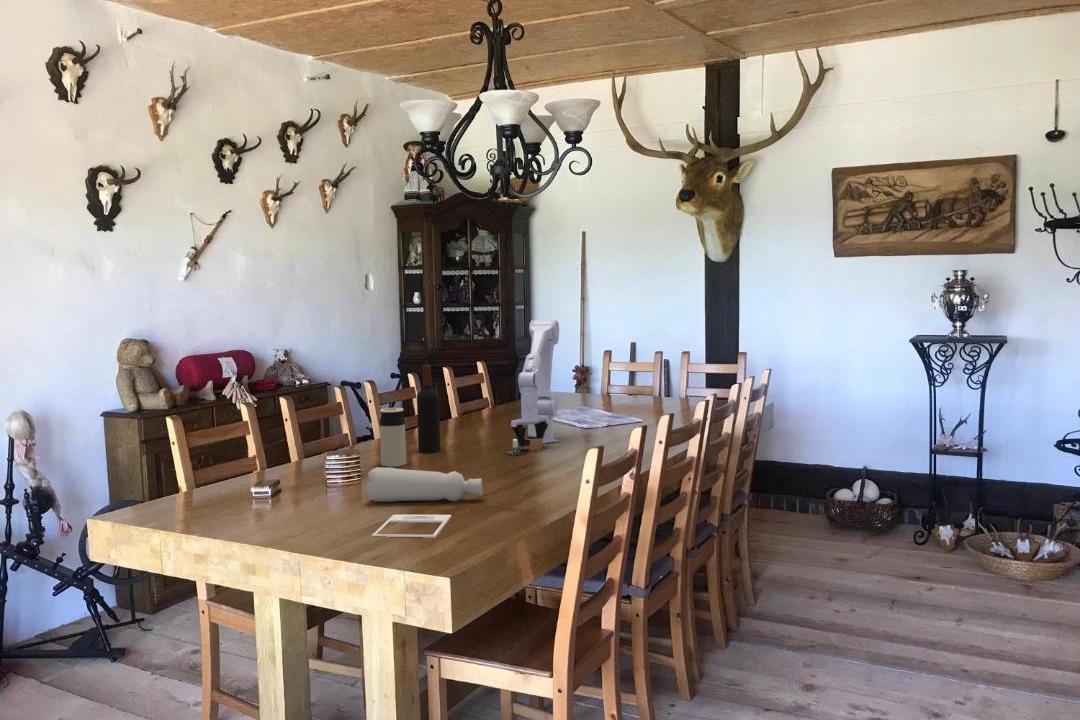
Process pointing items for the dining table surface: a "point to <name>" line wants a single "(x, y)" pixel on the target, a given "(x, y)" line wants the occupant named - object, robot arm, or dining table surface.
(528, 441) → the copper rectangular sleeve
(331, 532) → the dining table surface
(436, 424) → the wine bottle
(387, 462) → the travel mug
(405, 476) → the bottle
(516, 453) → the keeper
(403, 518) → the photo frame
